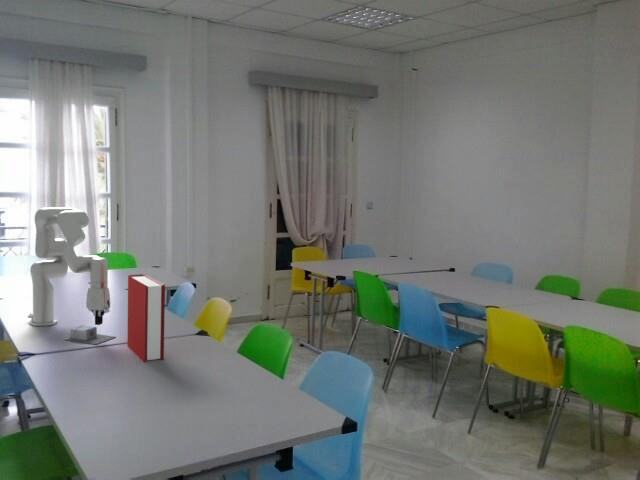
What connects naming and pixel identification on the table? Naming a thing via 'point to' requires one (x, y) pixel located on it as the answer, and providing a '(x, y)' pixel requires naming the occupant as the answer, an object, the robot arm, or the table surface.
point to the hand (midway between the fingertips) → (98, 324)
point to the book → (146, 317)
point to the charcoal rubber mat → (93, 339)
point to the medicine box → (83, 332)
